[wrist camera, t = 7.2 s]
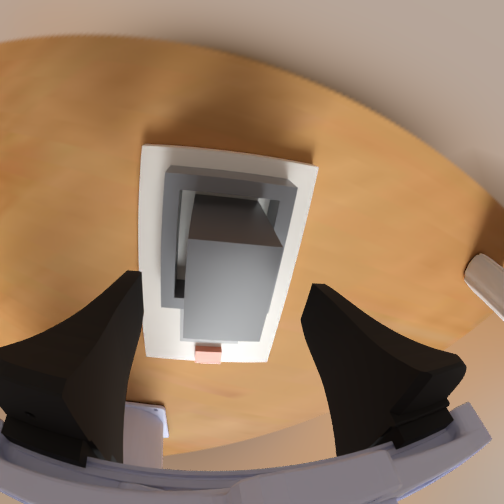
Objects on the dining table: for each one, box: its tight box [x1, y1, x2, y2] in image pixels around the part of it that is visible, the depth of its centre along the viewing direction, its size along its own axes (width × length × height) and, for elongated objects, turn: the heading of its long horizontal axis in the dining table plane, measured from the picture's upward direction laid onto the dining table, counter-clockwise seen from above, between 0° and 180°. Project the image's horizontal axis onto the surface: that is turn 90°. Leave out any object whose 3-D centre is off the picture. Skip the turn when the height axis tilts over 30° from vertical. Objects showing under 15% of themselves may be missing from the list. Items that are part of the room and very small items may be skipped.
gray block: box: [183, 194, 283, 342], centre depth 14 cm, size 4×5×6 cm
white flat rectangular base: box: [138, 144, 319, 364], centre depth 18 cm, size 10×16×3 cm, turn 171°
